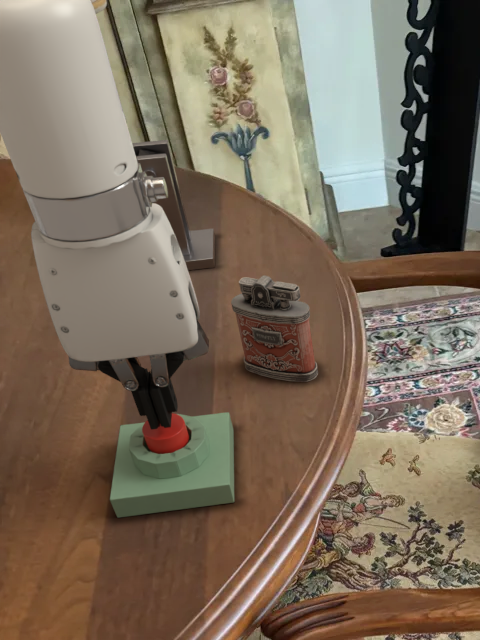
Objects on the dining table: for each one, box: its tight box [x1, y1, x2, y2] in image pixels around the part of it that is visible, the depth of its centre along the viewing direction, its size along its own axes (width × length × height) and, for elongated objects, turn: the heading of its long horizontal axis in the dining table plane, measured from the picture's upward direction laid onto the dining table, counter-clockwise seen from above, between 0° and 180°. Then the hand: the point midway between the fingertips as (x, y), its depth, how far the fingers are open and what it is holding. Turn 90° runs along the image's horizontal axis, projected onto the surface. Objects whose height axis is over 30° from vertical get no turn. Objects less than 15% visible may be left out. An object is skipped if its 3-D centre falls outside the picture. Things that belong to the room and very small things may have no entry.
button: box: [142, 412, 189, 454], centre depth 68 cm, size 4×4×2 cm
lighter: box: [230, 274, 319, 383], centre depth 77 cm, size 8×3×10 cm, turn 70°
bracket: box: [132, 139, 216, 271], centre depth 93 cm, size 10×8×13 cm
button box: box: [109, 411, 235, 519], centre depth 69 cm, size 10×10×4 cm
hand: (162, 417), depth 66 cm, fingers closed
